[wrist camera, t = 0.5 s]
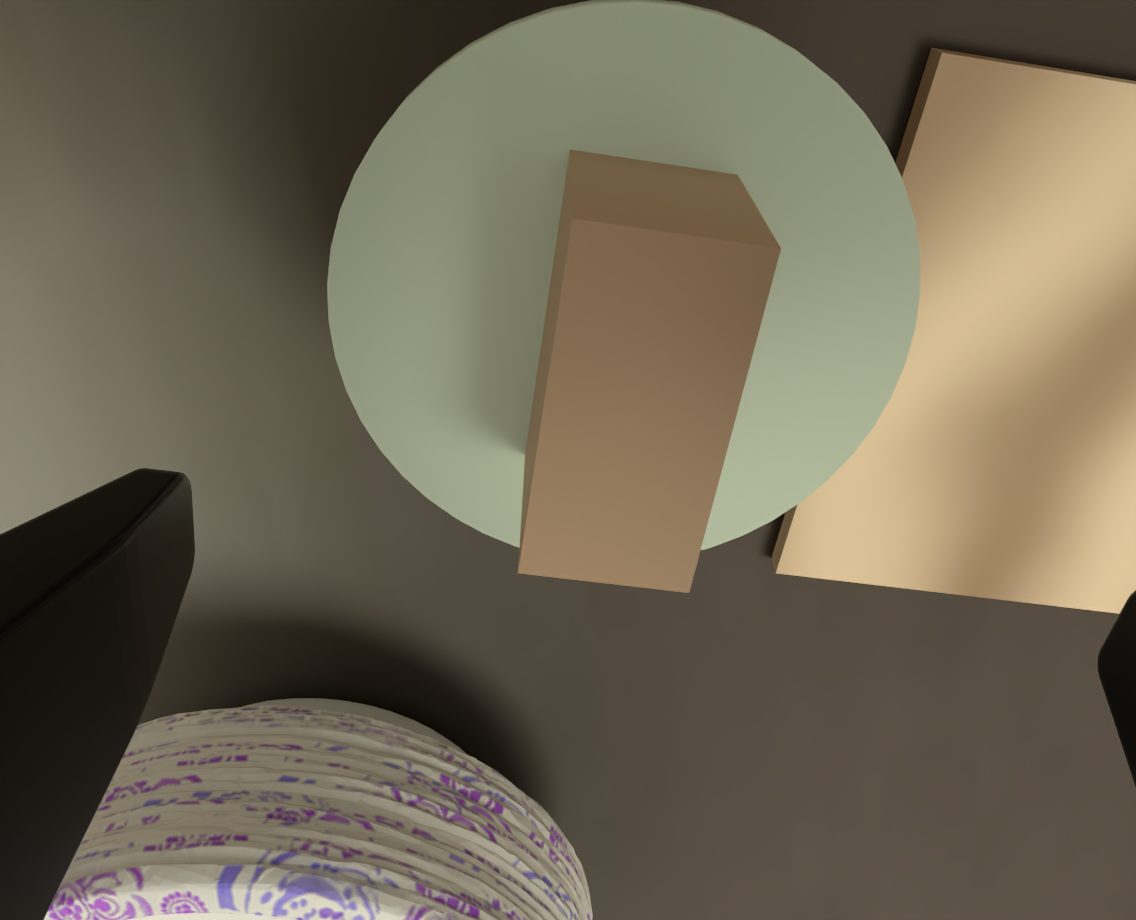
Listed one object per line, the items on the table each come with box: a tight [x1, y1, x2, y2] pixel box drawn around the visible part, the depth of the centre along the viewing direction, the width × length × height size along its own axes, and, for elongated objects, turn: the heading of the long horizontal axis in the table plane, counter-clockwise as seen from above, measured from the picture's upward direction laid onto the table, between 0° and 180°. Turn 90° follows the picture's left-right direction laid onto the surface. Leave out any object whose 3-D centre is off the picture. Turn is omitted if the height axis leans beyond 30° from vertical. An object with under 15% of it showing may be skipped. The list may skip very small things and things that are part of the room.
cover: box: [327, 0, 920, 593], centre depth 14 cm, size 9×9×4 cm
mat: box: [771, 48, 1136, 614], centre depth 22 cm, size 12×12×1 cm
